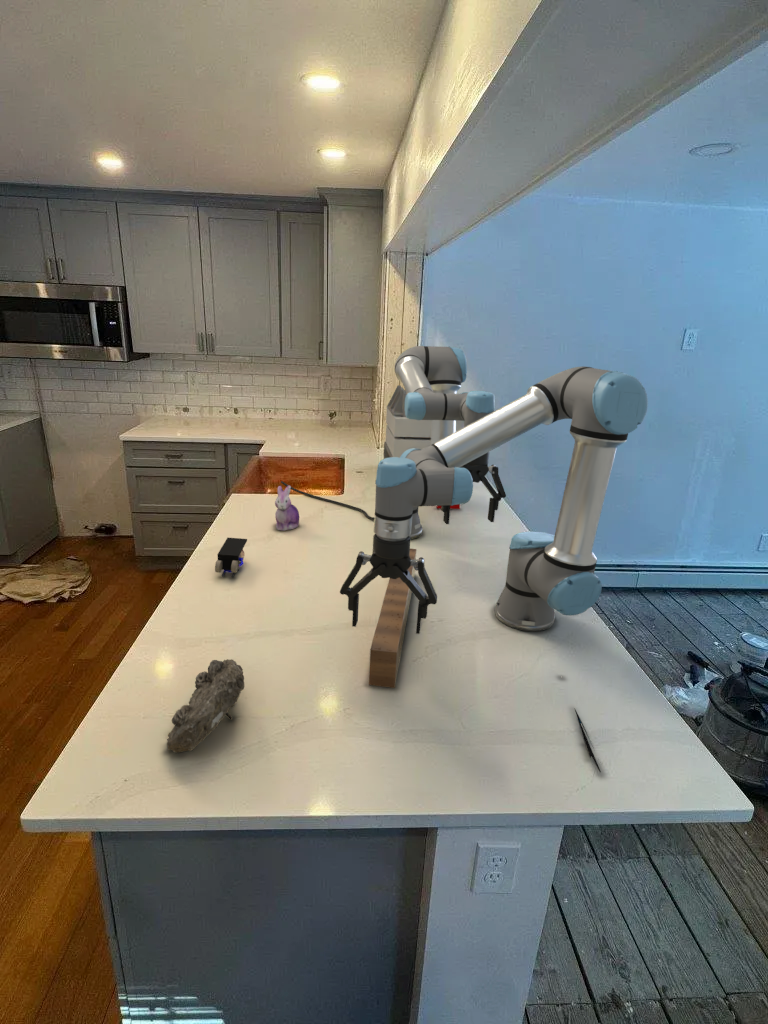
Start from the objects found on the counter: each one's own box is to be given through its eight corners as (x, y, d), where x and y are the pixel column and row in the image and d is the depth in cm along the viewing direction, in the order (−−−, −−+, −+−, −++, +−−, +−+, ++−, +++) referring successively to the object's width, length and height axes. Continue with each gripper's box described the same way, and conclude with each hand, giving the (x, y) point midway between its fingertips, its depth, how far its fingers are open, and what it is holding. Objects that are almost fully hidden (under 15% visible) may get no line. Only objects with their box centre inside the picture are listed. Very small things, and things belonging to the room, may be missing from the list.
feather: (561, 682, 125) (567, 675, 124) (600, 777, 98) (608, 769, 98) (555, 678, 125) (561, 671, 124) (592, 772, 98) (600, 765, 98)
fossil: (192, 660, 117) (244, 628, 112) (224, 691, 120) (276, 661, 115) (142, 746, 98) (202, 712, 93) (182, 779, 101) (242, 748, 96)
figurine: (278, 533, 195) (277, 491, 190) (270, 523, 204) (269, 483, 199) (304, 529, 199) (304, 488, 194) (295, 519, 208) (294, 480, 203)
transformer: (382, 463, 289) (386, 382, 275) (445, 464, 293) (451, 384, 279) (390, 482, 257) (394, 392, 243) (460, 483, 261) (468, 394, 247)
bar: (396, 573, 170) (397, 547, 167) (414, 575, 169) (416, 548, 166) (368, 685, 119) (370, 649, 116) (394, 688, 119) (396, 652, 116)
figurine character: (238, 584, 162) (249, 557, 175) (236, 562, 158) (247, 536, 172) (215, 584, 161) (227, 556, 175) (212, 561, 158) (225, 535, 171)
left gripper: (436, 453, 149) (431, 528, 156) (523, 451, 154) (514, 524, 162) (428, 446, 156) (423, 518, 163) (511, 445, 161) (503, 515, 168)
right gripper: (327, 535, 112) (325, 629, 119) (454, 548, 109) (444, 643, 116) (335, 522, 119) (332, 611, 126) (454, 533, 116) (445, 624, 123)
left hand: (468, 521), depth 162 cm, fingers open, 13 cm apart
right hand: (386, 627), depth 121 cm, fingers open, 13 cm apart
